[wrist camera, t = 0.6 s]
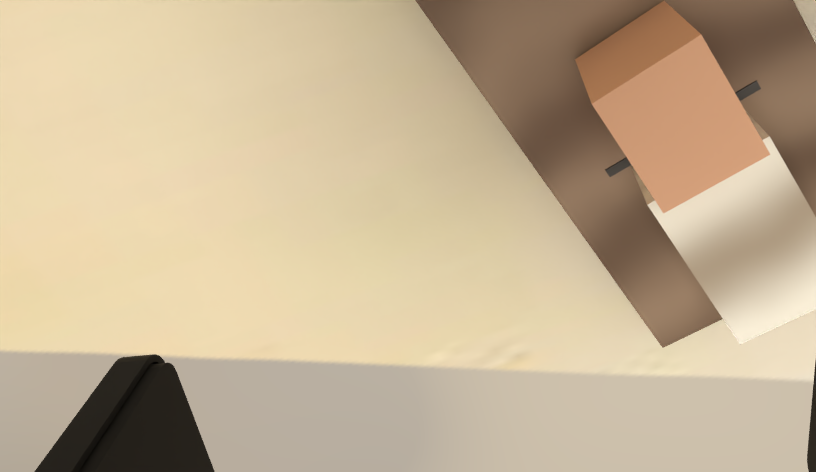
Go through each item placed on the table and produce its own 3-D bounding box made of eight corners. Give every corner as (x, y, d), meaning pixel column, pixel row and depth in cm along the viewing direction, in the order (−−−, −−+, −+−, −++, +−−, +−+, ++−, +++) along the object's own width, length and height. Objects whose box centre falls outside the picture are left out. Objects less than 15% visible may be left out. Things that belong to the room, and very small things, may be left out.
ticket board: (895, 213, 34) (961, 273, 29) (656, 330, 38) (680, 400, 34) (639, -275, 27) (671, -301, 22) (379, -62, 31) (357, -46, 26)
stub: (723, 101, 31) (770, 154, 25) (635, 153, 32) (663, 213, 27) (664, 0, 29) (701, 34, 24) (575, 59, 31) (591, 103, 25)
